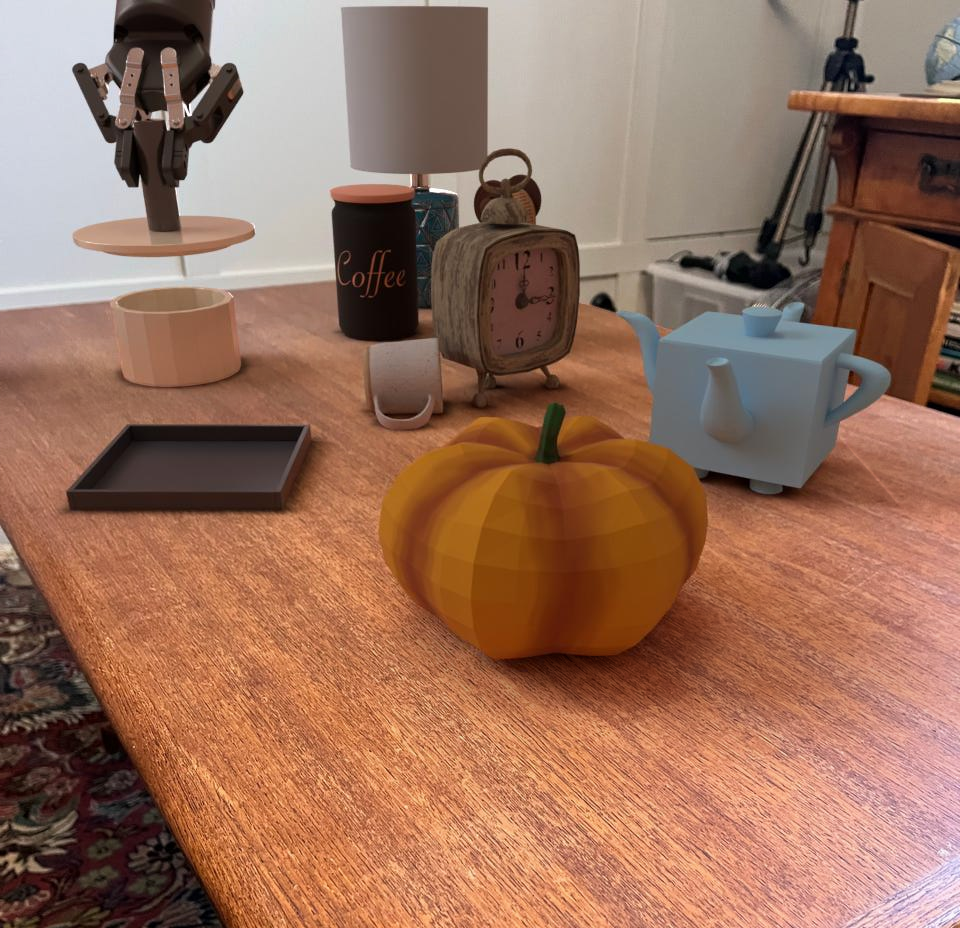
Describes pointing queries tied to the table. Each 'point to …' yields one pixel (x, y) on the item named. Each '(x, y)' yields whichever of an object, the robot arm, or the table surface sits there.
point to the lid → (160, 213)
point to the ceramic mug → (403, 381)
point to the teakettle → (753, 392)
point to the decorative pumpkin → (545, 535)
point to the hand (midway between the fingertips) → (150, 179)
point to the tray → (194, 468)
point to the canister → (176, 336)
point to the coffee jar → (375, 261)
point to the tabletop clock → (505, 290)
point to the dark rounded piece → (527, 196)
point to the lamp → (418, 105)
